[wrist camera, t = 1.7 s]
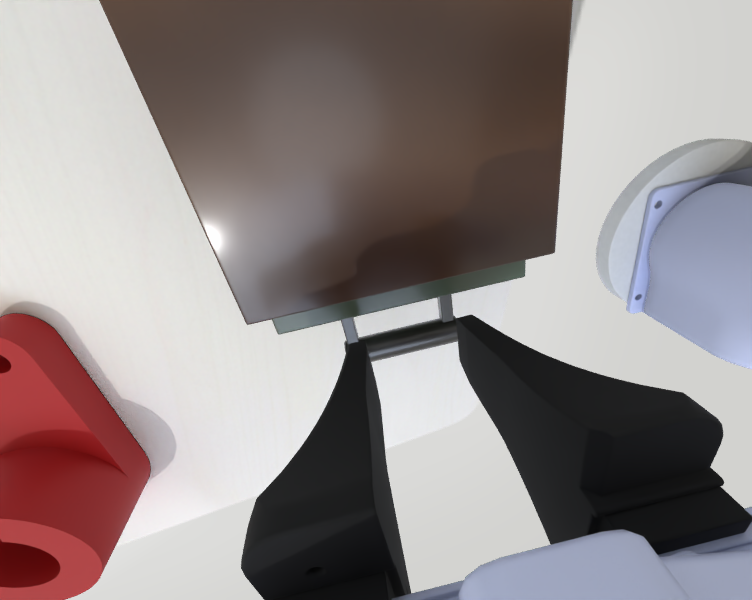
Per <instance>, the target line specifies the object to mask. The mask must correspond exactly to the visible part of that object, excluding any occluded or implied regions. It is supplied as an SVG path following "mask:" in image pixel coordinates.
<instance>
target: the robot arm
mask: <svg viewBox="0 0 752 600" xmlns="http://www.w3.org/2000/svg"><path fill="white" fill-rule="evenodd" d="M656 202H657V204H656V205H655V203H656ZM626 310H627V311H628V312H629V313H632V314H635V313H639V312H643V313H645V314H647V315H648V316H650V317H652V318H653V319H655V320H656V321H658V322H660V323H661V324H663V325H665V326H666V327H668V328H670V329H671V330H673V331H675V332H676V333H678V334H679V335H681V336H683V337H684V338H686V339H688V340H690V341H691V342H693V343H695V344H696V345H698V346H699V347H701V348H703V349H704V350H706V351H708V352H709V353H711V354H713V355H714V356H716V357H719V358H721V359H723V360H725V361H727V362H730V363H733V364H736V365H739V366H742V367H746V368H749V369H752V166H751V167H746V168H742V169H738V170H733V171H729V172H725V173H720V174H716V175H712V176H707V177H703V178H699V179H694V180H690V181H686V182H681V183H677V184H673V185H668V186H664V187H660V188H656V189H654V190H653V191H652V192H651V193H650V194H649V197H648V201H647V206H646V211H645V216H644V221H643V226H642V231H641V236H640V241H639V246H638V251H637V256H636V261H635V266H634V271H633V276H632V282H631V287H630V292H629V297H628V302H627V307H626ZM456 324H457V335H458V346H459V357H460V362H461V364H462V367H463V369H464V371H465V374H466V376H467V378H468V380H469V383H470V384H471V386H472V388H473V389H474V391H475V393H476V394H477V396H478V398H479V399H480V401H481V403H482V404H483V406H484V408H485V409H486V411H487V413H488V414H489V416H490V418H491V419H492V421H493V422H494V424H495V426H496V427H497V429H498V431H499V432H500V434H501V436H502V438H503V440H504V441H505V443H506V446H507V448H508V450H509V452H510V454H511V456H512V458H513V460H514V462H515V464H516V467H517V469H518V471H519V473H520V475H521V477H522V479H523V482H524V484H525V486H526V488H527V490H528V493H529V495H530V497H531V500H532V502H533V504H534V506H535V509H536V511H537V513H538V516H539V518H540V520H541V522H542V525H543V527H544V529H545V532H546V534H547V537H548V539H549V541H550V544H551V545H548V546H544V547H541V548H536V549H533V550H529V551H525V552H521V553H517V554H513V555H509V556H505V557H501V558H498V559H496V560H493V561H491V562H488V563H486V564H483V565H480V566H479V567H478V568H476V569H475V570H474V571H473V572H471V573H470V574H469V575H467V576H466V577H465V580H463V581H459V582H455V583H451V584H447V585H444V586H439V587H435V588H432V589H428V590H424V591H420V592H416V593H412V594H411V590H410V585H409V580H408V575H407V570H406V565H405V560H404V555H403V550H402V545H401V539H400V534H399V529H398V524H397V520H396V514H395V508H394V504H393V498H392V493H391V488H390V482H389V477H388V472H387V465H386V456H385V446H384V435H383V424H382V414H381V404H380V399H379V394H378V390H377V385H376V380H375V376H374V372H373V368H372V364H371V361H370V357H369V353H368V349H367V345H366V341H365V340H363V341H358V342H354V343H350V344H349V345H348V346H347V351H346V355H345V359H344V363H343V366H342V369H341V372H340V375H339V377H338V380H337V383H336V385H335V388H334V390H333V392H332V394H331V397H330V399H329V401H328V403H327V405H326V407H325V409H324V411H323V413H322V415H321V417H320V418H319V420H318V422H317V424H316V425H315V427H314V428H313V430H312V431H311V433H310V435H309V436H308V438H307V439H306V441H305V442H304V444H303V445H302V446H301V448H300V449H299V450H298V452H297V453H296V454H295V456H294V457H293V458H292V459H291V461H290V462H289V463H288V465H287V466H286V467H285V468H284V470H283V471H282V472H281V473H280V474H279V475H278V476H277V477H276V479H275V480H274V481H273V482H272V483H271V484H270V485H269V486H268V487H267V488H266V489H265V490H264V491H263V493H262V494H261V495H260V496H259V497H258V498H257V499H256V502H255V505H254V509H253V512H252V515H251V518H250V521H249V525H248V529H247V534H246V539H245V544H244V549H243V555H242V561H241V569H242V571H243V573H244V575H245V577H246V578H247V579H248V580H249V581H250V583H251V584H252V585H253V586H254V588H255V589H256V590H257V591H258V592H259V594H260V595H261V596H262V597H263V599H264V600H752V507H749V508H745V509H744V508H743V507H742V506H741V505H740V504H738V503H737V502H736V501H735V500H734V499H733V498H732V497H731V496H730V495H729V494H728V493H727V492H725V491H724V490H723V489H722V488H721V487H720V486H722V485H723V484H724V481H723V479H722V478H721V477H720V476H719V475H718V474H717V473H716V472H715V471H713V469H711V468H710V466H711V463H712V462H713V460H714V457H715V455H716V453H717V451H718V448H719V446H720V444H721V441H722V438H723V428H722V424H721V423H720V421H719V420H718V419H717V418H716V417H715V416H713V415H712V414H711V413H709V412H708V411H707V410H705V409H704V408H703V407H702V406H700V405H699V404H698V403H696V402H695V401H694V400H692V399H691V398H690V397H688V396H687V395H686V394H684V393H682V392H676V391H671V390H666V389H660V388H655V387H649V386H644V385H639V384H635V383H631V382H626V381H622V380H618V379H614V378H611V377H607V376H604V375H600V374H597V373H593V372H590V371H587V370H584V369H581V368H578V367H575V366H572V365H569V364H567V363H564V362H561V361H559V360H557V359H554V358H552V357H549V356H546V355H544V354H542V353H540V352H538V351H536V350H534V349H532V348H529V347H527V346H525V345H523V344H521V343H520V342H518V341H516V340H514V339H512V338H510V337H508V336H507V335H504V334H503V333H501V332H500V331H498V330H496V329H495V328H493V327H491V326H490V325H488V324H486V323H485V322H483V321H481V320H480V319H478V318H477V317H475V316H473V315H468V316H464V317H460V318H456Z"/></svg>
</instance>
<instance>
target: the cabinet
mask: <svg viewBox="0 0 752 600" xmlns="http://www.w3.org/2000/svg"><path fill="white" fill-rule="evenodd" d="M99 1H100V3H101V5H102V7H103V10H104V12H105V14H106V16H107V18H108V21H109V23H110V25H111V27H112V29H113V32H114V34H115V36H116V38H117V40H118V43H119V45H120V47H121V49H122V51H123V54H124V56H125V58H126V60H127V62H128V65H129V67H130V69H131V71H132V73H133V76H134V78H135V80H136V82H137V84H138V87H139V89H140V91H141V93H142V95H143V97H144V100H145V102H146V104H147V106H148V108H149V111H150V113H151V115H152V117H153V119H154V122H155V124H156V126H157V128H158V130H159V133H160V135H161V137H162V139H163V141H164V144H165V146H166V148H167V150H168V152H169V155H170V157H171V159H172V161H173V163H174V166H175V168H176V170H177V172H178V174H179V177H180V179H181V181H182V183H183V185H184V188H185V190H186V192H187V194H188V196H189V199H190V201H191V203H192V205H193V207H194V210H195V212H196V214H197V216H198V218H199V221H200V223H201V225H202V227H203V229H204V232H205V234H206V236H207V238H208V240H209V243H210V245H211V247H212V249H213V251H214V254H215V256H216V258H217V260H218V262H219V265H220V267H221V269H222V271H223V273H224V276H225V278H226V280H227V282H228V284H229V287H230V289H231V291H232V293H233V295H234V297H235V300H236V302H237V304H238V306H239V308H240V311H241V313H242V315H243V317H244V319H245V322H246V324H247V325H249V324H253V323H258V322H262V321H266V320H271V319H275V318H279V317H283V316H288V315H292V314H296V313H300V312H305V311H309V310H313V309H318V308H322V307H326V306H330V305H335V304H339V303H343V302H347V301H352V300H356V299H360V298H365V297H369V296H373V295H377V294H382V293H386V292H390V291H394V290H399V289H403V288H407V287H412V286H416V285H420V284H424V283H429V282H433V281H437V280H441V279H446V278H450V277H454V276H459V275H463V274H467V273H471V272H476V271H480V270H484V269H488V268H493V267H497V266H501V265H506V264H510V263H514V262H518V261H523V260H526V259H531V258H535V257H539V256H544V255H548V254H552V253H554V252H555V241H556V227H557V214H558V199H559V184H560V171H561V157H562V143H563V129H564V115H565V100H566V87H567V73H568V58H569V44H570V30H571V16H572V2H573V0H99Z"/></svg>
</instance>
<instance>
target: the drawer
mask: <svg viewBox="0 0 752 600" xmlns="http://www.w3.org/2000/svg"><path fill="white" fill-rule="evenodd" d="M524 276H525V260H523V261H518V262H514V263H510V264H506V265H501V266H497V267H493V268H488V269H484V270H480V271H476V272H471V273H467V274H463V275H459V276H454V277H450V278H446V279H441V280H437V281H433V282H429V283H424V284H420V285H416V286H412V287H407V288H403V289H399V290H394V291H390V292H386V293H382V294H377V295H373V296H369V297H365V298H360V299H356V300H352V301H347V302H343V303H339V304H335V305H330V306H326V307H322V308H318V309H313V310H309V311H305V312H300V313H296V314H292V315H288V316H283V317H279V318H275V319H272V321H273V323H274V326H275V328H276V331H277V333H278V334H283V333H288V332H292V331H296V330H300V329H305V328H309V327H313V326H317V325H322V324H326V323H330V322H334V321H339V320H341V322H342V326H343V329H344V333H345V336H346V341H345V343H344V345H345V351H347V346H348V345H349V344H350V343H354V342H358V341H363V340H365V341H366V345H367V349H368V353H369V357H370V361H371V362H373V361H377V360H382V359H386V358H390V357H394V356H398V355H403V354H407V353H411V352H415V351H419V350H424V349H428V348H432V347H436V346H440V345H445V344H449V343H453V342H457V341H458V335H457V324H456V318H455V316H453V308H452V298H451V294H453V293H458V292H462V291H466V290H470V289H475V288H479V287H483V286H487V285H492V284H496V283H500V282H504V281H509V280H513V279H517V278H521V277H524ZM436 297H437V299H438V307H439V315H440V318H439V319H435V320H431V321H427V322H422V323H418V324H414V325H410V326H405V327H401V328H397V329H393V330H389V331H384V332H380V333H376V334H372V335H367V336H363V337H358V333H357V329H356V325H355V322H354V318H353V317H356V316H360V315H364V314H368V313H373V312H377V311H381V310H385V309H390V308H394V307H398V306H402V305H407V304H411V303H415V302H419V301H424V300H428V299H432V298H436Z"/></svg>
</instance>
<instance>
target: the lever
mask: <svg viewBox="0 0 752 600" xmlns="http://www.w3.org/2000/svg"><path fill="white" fill-rule="evenodd" d="M150 471H151V468H150V463H149V460H148V457H147V456H146V454H145V452H144V451H143V450H142V448H141V447H140V446H139V444H138V443H137V441H136V440H135V439H134V437H133V436H132V434H131V433H130V432H129V430H128V429H127V428H126V426H125V425H124V423H123V422H122V421H121V419H120V418H119V417H118V415H117V414H116V412H115V411H114V410H113V408H112V407H111V406H110V404H109V403H108V401H107V400H106V399H105V397H104V396H103V395H102V393H101V392H100V390H99V389H98V388H97V386H96V385H95V383H94V382H93V381H92V379H91V378H90V377H89V375H88V374H87V372H86V371H85V370H84V368H83V367H82V366H81V364H80V363H79V361H78V360H77V359H76V357H75V356H74V355H73V353H72V352H71V350H70V349H69V348H68V346H67V345H66V344H65V342H64V341H63V339H62V338H61V337H60V335H59V334H58V333H57V331H56V330H55V329H54V328H52V327H51V326H50V325H49V324H47V323H45V322H44V321H42V320H40V319H38V318H35V317H32V316H29V315H25V314H17V313H16V314H8V315H4V316H2V317H0V600H65V599H68V598H71V597H74V596H77V595H79V594H81V593H83V592H85V591H86V590H88V589H90V588H91V587H92V586H93V585H94V584H95V583H96V582H97V581H98V579H99V578H100V576H101V574H102V572H103V570H104V568H105V566H106V564H107V562H108V560H109V558H110V556H111V554H112V552H113V550H114V548H115V546H116V544H117V542H118V540H119V538H120V536H121V534H122V532H123V530H124V528H125V526H126V524H127V522H128V520H129V518H130V515H131V513H132V511H133V509H134V507H135V505H136V503H137V501H138V499H139V497H140V495H141V493H142V491H143V489H144V487H145V485H146V483H147V481H148V479H149V476H150Z"/></svg>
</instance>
